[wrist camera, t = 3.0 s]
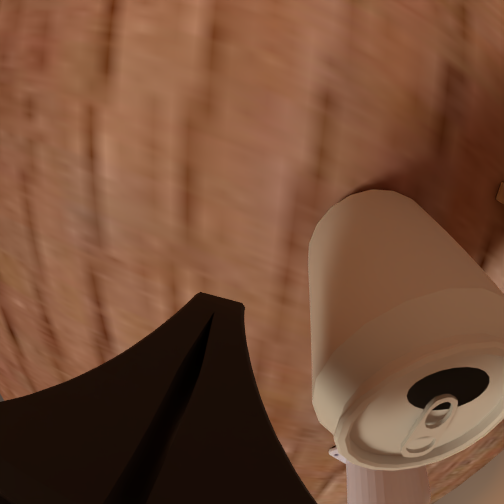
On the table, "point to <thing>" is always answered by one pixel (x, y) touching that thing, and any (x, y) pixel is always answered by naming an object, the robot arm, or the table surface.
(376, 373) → the can
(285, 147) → the table surface
